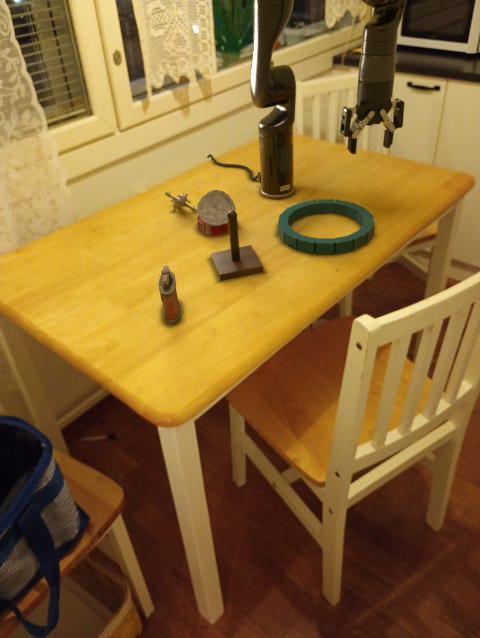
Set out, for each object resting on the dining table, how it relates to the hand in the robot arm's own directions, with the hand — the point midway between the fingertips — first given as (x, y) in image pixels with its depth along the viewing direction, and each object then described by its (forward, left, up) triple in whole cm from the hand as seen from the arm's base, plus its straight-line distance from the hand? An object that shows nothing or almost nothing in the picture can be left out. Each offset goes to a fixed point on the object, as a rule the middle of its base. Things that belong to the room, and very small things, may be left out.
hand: (369, 150), depth 122 cm
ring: (0, -10, -19) cm, 21 cm away
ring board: (+8, -35, -19) cm, 41 cm away
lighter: (+21, -52, -19) cm, 60 cm away
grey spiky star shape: (-25, -43, -19) cm, 53 cm away
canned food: (-12, -35, -19) cm, 42 cm away
